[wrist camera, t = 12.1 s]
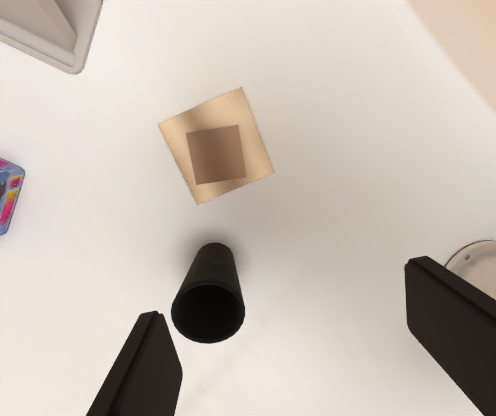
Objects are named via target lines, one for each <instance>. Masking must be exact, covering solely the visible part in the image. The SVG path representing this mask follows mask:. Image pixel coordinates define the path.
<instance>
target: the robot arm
mask: <svg viewBox="0 0 496 416" xmlns="http://www.w3.org/2000/svg"><path fill="white" fill-rule="evenodd" d="M405 289H406V311H407V325H408V328H409V330H410V332H411V333H412V334H413V335H414V336H415V338H416V339H417V340H418V341H419V342H420V343H421V344H422V346H423V347H424V348H425V349H426V350H427V351H428V352H429V354H430V355H431V356H432V357H433V358H434V359H435V360H436V361H437V363H438V364H439V365H440V366H441V367H442V368H443V369H444V371H445V372H446V373H447V374H448V375H449V376H450V377H451V379H452V380H453V381H454V382H455V383H456V384H457V385H458V387H459V388H460V389H461V390H462V391H463V392H464V393H465V394H466V396H467V397H468V398H469V399H470V400H471V401H472V402H473V404H474V405H475V406H476V407H477V408H478V409H479V410H480V412H481V413H482V414H483V415H484V416H496V241H482V242H478V243H475V244H472V245H470V246H468V247H466V248H464V249H462V250H461V251H460V252H458V253H457V254H456V255H455V256H454V257H453V258H452V259H451V260H450V261H449V263H448V264H447V266H446V267H444V266H442V265H440V264H439V263H437V262H436V261H434V260H433V259H431V258H430V257H428V256H422V257H417V258H412V259H409V261H408V263H407V264H405ZM182 376H183V373H182V367H181V364H180V361H179V358H178V355H177V352H176V349H175V347H174V344H173V341H172V338H171V335H170V332H169V329H168V326H167V323H166V320H165V317H164V315H163V314H159V313H158V311H152V312H147V313H142V314H140V316H139V318H138V319H137V321H136V323H135V325H134V327H133V329H132V331H131V333H130V334H129V336H128V338H127V340H126V342H125V344H124V346H123V347H122V349H121V351H120V353H119V355H118V357H117V359H116V360H115V362H114V364H113V366H112V368H111V370H110V372H109V373H108V375H107V377H106V379H105V381H104V383H103V385H102V387H101V388H100V390H99V392H98V394H97V396H96V398H95V400H94V401H93V403H92V405H91V407H90V409H89V411H88V413H87V415H86V416H174V414H175V409H176V405H177V400H178V396H179V391H180V387H181V382H182Z"/></svg>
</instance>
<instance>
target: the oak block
mask: <svg viewBox="0 0 496 416" xmlns="http://www.w3.org/2000/svg"><path fill="white" fill-rule="evenodd" d="M234 125H239V131H240V138H241V144H242V151H243V158H244V165H245V171H246V177H245V178H239V179H232V180H226V181H219V182H213V183H207V184H200V185H196V181H195V177H194V172H193V167H192V162H191V157H190V152H189V147H188V143H187V138H186V133H188V132H195V131H201V130H208V129H214V128H221V127H228V126H234ZM158 126H159V128H160V130H161V132H162V134H163V137H164V139H165V141H166V143H167V145H168V147H169V149H170V151H171V153H172V155H173V157H174V159H175V161H176V163H177V165H178V167H179V169H180V171H181V173H182V175H183V177H184V179H185V181H186V183H187V185H188V187H189V189H190V191H191V193H192V195H193V197H194V199H195V201H196V203H197V205H198V204H201V203H203V202H205V201H208V200H210V199H212V198H215V197H217V196H220V195H222V194H224V193H227V192H229V191H231V190H234V189H236V188H239V187H241V186H243V185H246V184H248V183H250V182H253V181H255V180H258V179H260V178H262V177H265V176H267V175H269V174H272V173H274V170H273V167H272V164H271V162H270V159H269V157H268V154H267V151H266V149H265V146H264V144H263V141H262V139H261V136H260V133H259V131H258V128H257V126H256V123H255V120H254V118H253V115H252V113H251V110H250V107H249V105H248V102H247V100H246V97H245V94H244V92H243V89H242V87H240V88H238V89H236V90H233V91H231V92H229V93H227V94H224V95H222V96H220V97H218V98H215V99H213V100H211V101H209V102H206V103H204V104H202V105H199V106H197V107H195V108H193V109H190V110H188V111H186V112H184V113H181V114H179V115H177V116H175V117H172V118H170V119H168V120H166V121H163V122H161V123H159V124H158Z"/></svg>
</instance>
